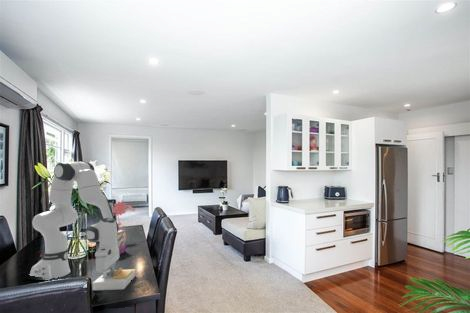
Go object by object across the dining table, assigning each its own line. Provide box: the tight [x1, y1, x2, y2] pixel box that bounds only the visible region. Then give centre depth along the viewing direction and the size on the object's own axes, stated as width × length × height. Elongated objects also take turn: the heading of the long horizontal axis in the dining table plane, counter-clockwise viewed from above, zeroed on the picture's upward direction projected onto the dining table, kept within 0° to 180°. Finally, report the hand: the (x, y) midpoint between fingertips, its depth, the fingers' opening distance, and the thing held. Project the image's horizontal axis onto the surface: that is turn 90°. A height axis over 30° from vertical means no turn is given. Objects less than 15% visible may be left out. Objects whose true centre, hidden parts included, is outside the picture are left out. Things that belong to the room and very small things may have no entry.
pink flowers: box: [112, 200, 135, 241], centre depth 225 cm, size 15×26×35 cm, turn 138°
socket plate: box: [92, 268, 136, 291], centre depth 142 cm, size 16×16×4 cm
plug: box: [103, 269, 116, 278], centre depth 142 cm, size 5×5×6 cm
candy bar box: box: [116, 229, 127, 255], centre depth 192 cm, size 11×5×16 cm, turn 163°
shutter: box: [113, 266, 133, 279], centre depth 142 cm, size 7×9×3 cm
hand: (108, 273), depth 142 cm, fingers open, 6 cm apart
